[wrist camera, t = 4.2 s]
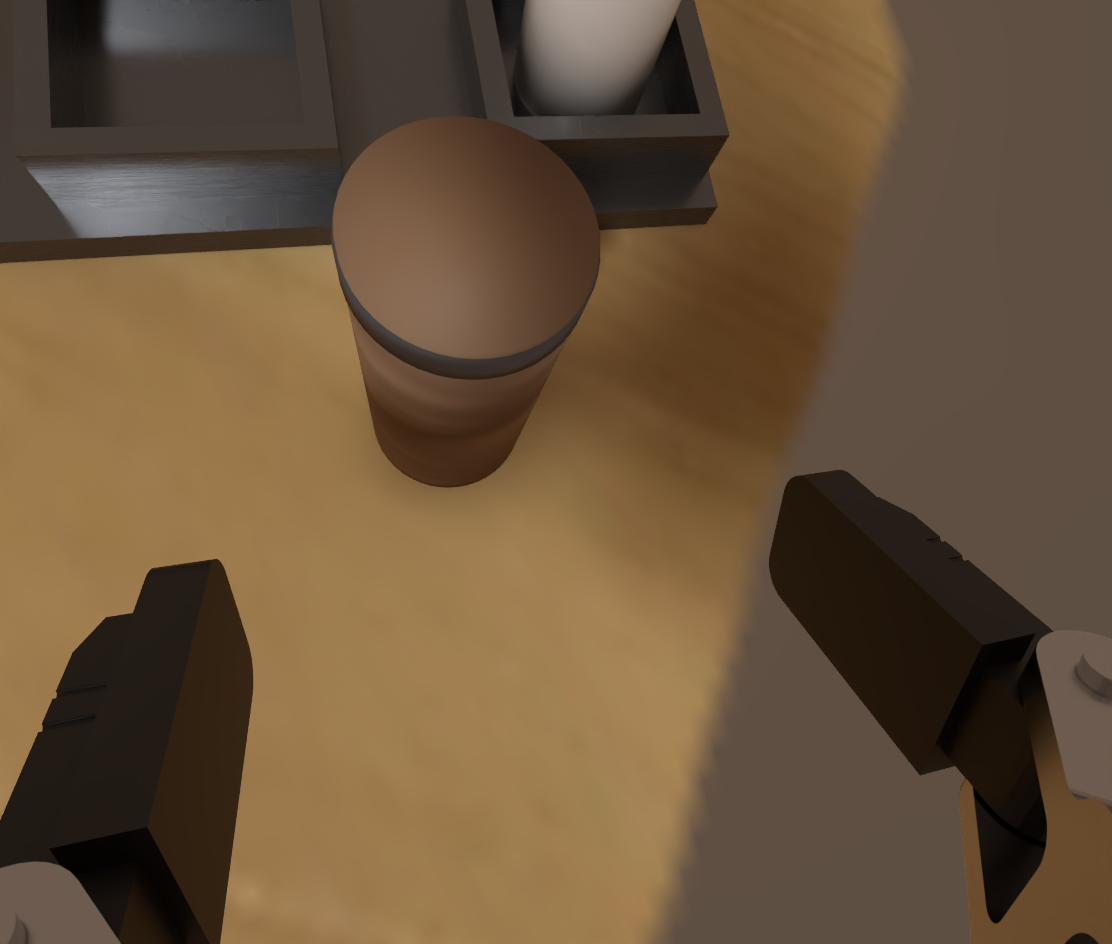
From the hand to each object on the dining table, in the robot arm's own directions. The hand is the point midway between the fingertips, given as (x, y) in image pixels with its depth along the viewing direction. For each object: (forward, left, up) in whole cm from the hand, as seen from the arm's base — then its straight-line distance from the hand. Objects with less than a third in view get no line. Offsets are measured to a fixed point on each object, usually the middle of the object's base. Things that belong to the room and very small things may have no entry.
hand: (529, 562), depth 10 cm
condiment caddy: (-1, +17, -10) cm, 20 cm away
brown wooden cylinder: (0, +6, -10) cm, 12 cm away
